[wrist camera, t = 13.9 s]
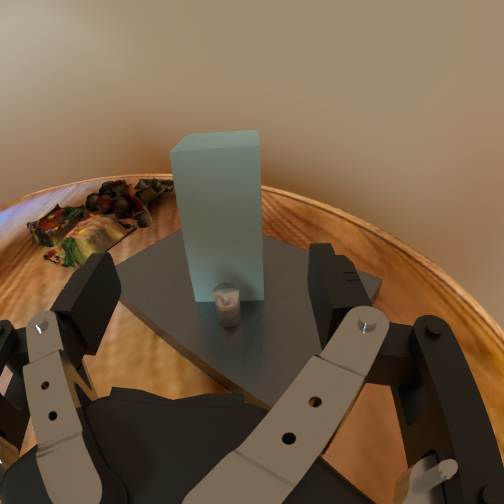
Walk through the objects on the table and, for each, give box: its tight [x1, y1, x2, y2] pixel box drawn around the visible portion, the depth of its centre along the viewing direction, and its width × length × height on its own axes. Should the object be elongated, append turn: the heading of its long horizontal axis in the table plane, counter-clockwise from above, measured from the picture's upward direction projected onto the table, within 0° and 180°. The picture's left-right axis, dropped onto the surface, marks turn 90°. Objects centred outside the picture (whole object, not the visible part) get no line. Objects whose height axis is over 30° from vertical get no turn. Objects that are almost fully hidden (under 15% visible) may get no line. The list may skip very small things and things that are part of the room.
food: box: [27, 178, 174, 269], centre depth 38 cm, size 22×19×4 cm
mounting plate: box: [115, 230, 383, 411], centre depth 24 cm, size 20×14×4 cm
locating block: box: [170, 130, 264, 302], centre depth 21 cm, size 5×5×11 cm
